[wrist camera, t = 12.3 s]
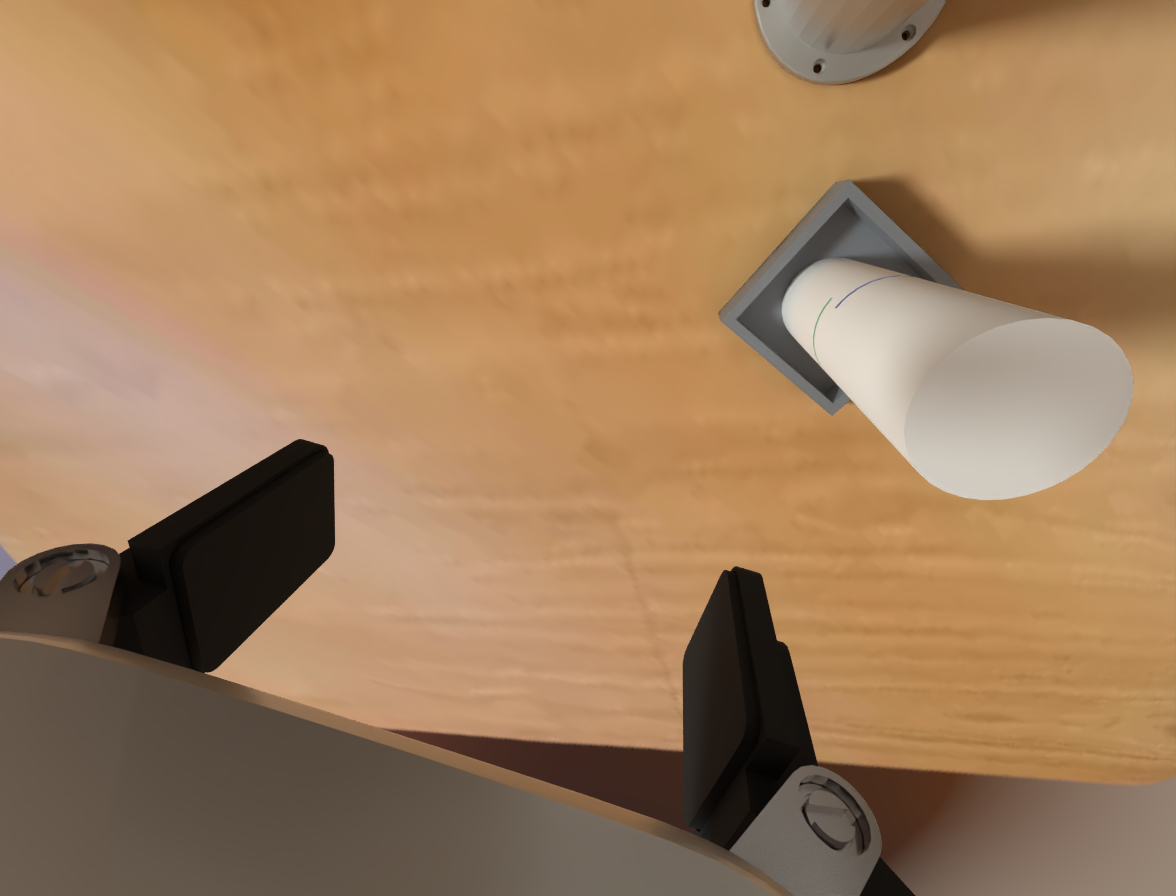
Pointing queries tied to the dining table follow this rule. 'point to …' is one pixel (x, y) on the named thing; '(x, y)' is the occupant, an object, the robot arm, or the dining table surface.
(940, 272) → the tray
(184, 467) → the dining table surface
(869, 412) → the cylindrical container
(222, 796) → the robot arm
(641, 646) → the dining table surface
